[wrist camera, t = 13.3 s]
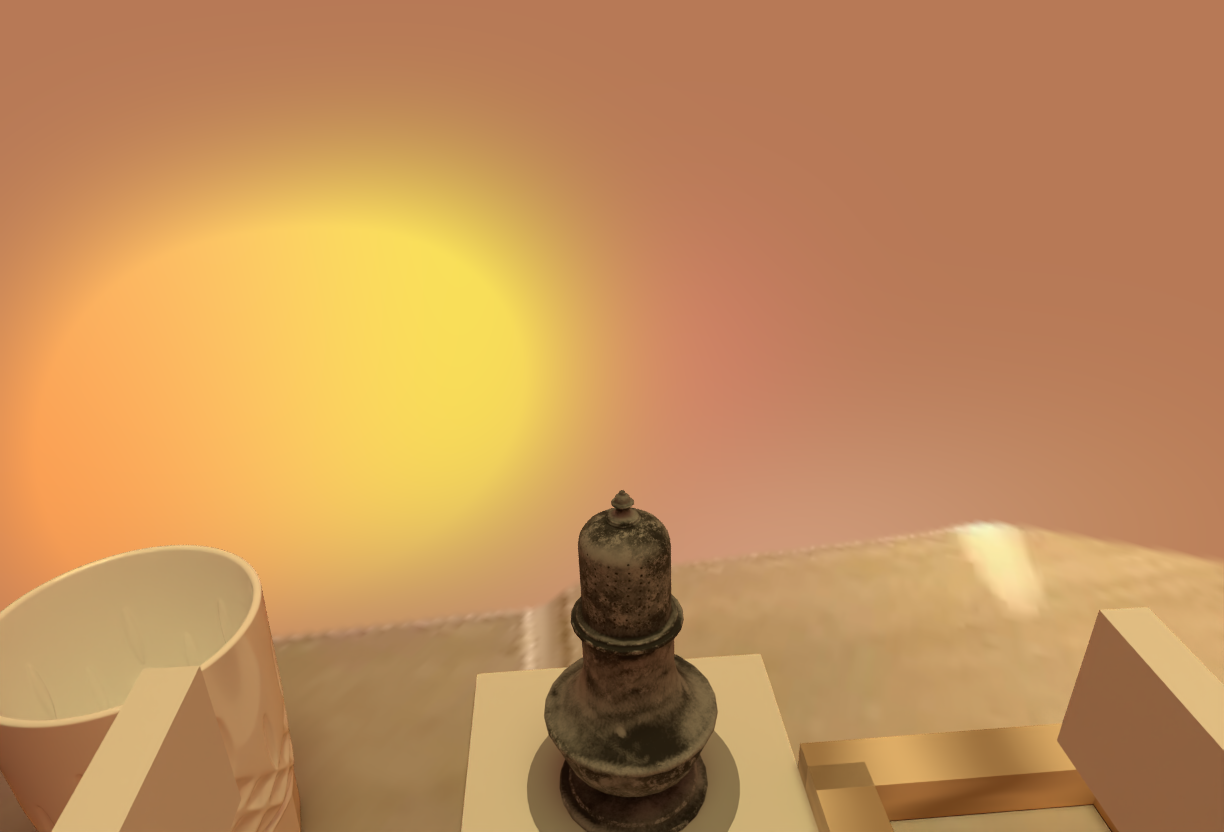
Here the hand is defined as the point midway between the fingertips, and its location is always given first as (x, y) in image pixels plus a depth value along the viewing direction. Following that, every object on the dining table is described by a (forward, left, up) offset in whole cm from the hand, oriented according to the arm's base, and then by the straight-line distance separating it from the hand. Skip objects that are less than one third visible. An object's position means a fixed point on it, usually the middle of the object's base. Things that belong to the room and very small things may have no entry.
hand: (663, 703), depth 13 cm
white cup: (-15, +11, -17) cm, 25 cm away
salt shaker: (0, +12, -16) cm, 20 cm away
